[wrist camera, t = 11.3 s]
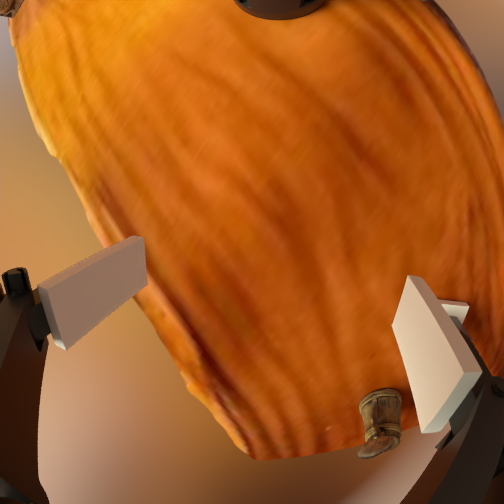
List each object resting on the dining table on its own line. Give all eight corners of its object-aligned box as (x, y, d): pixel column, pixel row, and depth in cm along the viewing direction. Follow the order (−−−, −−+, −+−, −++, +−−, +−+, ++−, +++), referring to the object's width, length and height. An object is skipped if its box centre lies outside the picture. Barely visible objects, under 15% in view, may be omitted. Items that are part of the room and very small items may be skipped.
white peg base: (419, 297, 37) (432, 318, 31) (466, 302, 35) (481, 322, 29) (400, 347, 41) (408, 371, 35) (445, 349, 39) (456, 372, 33)
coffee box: (13, 18, 34) (-19, 14, 19) (9, 16, 34) (-21, 13, 19) (26, -3, 31) (-6, -9, 16) (22, -4, 31) (-8, -10, 16)
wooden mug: (387, 367, 42) (401, 447, 26) (405, 404, 44) (416, 473, 28) (344, 385, 46) (343, 464, 29) (367, 419, 48) (369, 488, 31)
